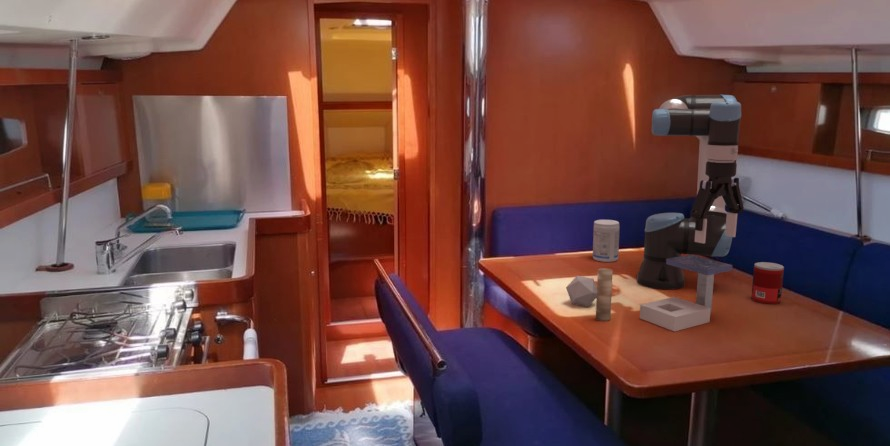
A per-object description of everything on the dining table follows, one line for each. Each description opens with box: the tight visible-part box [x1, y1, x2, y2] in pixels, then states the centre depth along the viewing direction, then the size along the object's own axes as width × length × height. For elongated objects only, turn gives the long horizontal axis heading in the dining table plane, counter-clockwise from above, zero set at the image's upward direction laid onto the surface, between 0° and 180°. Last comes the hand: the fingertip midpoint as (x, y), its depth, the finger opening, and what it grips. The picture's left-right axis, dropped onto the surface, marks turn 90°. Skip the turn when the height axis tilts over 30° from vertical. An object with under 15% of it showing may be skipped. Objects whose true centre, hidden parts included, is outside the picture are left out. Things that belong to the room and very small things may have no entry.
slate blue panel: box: [666, 254, 733, 315], centre depth 179 cm, size 14×10×16 cm
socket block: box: [639, 296, 712, 332], centre depth 176 cm, size 12×14×4 cm
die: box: [565, 275, 597, 307], centre depth 190 cm, size 8×9×10 cm
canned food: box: [751, 261, 785, 305], centre depth 192 cm, size 8×8×11 cm
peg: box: [595, 267, 614, 322], centre depth 176 cm, size 4×4×14 cm
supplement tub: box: [592, 219, 620, 263], centre depth 241 cm, size 10×10×15 cm
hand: (715, 239), depth 172 cm, fingers open, 13 cm apart
